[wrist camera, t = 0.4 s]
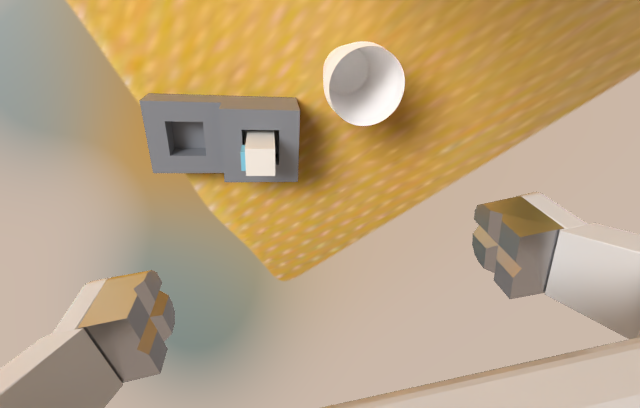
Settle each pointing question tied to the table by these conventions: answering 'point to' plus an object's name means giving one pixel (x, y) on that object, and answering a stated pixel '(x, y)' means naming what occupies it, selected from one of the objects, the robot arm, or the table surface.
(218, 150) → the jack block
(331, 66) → the cup
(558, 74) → the table surface
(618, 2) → the table surface
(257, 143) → the plug
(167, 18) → the table surface
